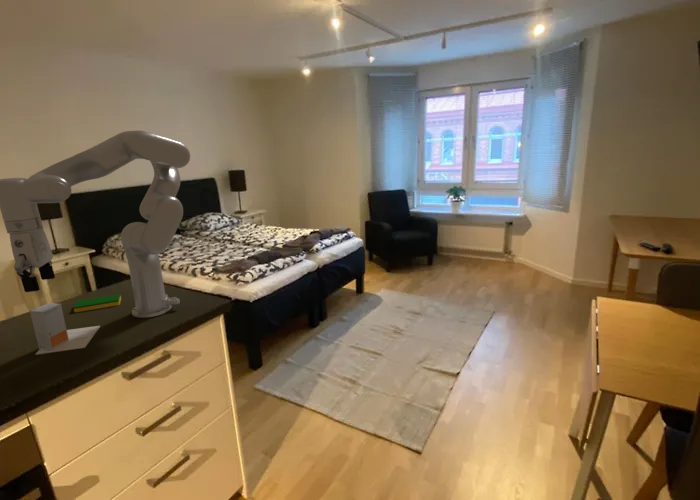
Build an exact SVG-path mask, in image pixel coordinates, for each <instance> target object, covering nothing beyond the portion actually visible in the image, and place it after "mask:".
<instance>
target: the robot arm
mask: <svg viewBox="0 0 700 500" xmlns="http://www.w3.org/2000/svg"><path fill="white" fill-rule="evenodd" d="M137 159H138V160H140V159H141V160H146V161H150V164H151V166H152V168H153V172H154V173H153V174H154V175H153V179H152V182H151V184H150V186H149V187H148V189H147V192H146V193H145V195H144V197H143V199H142V201H141V203H140V205H139V213H140V216H141V217H142V218H143V219H145V220H147V222H141V221H135V222H134V221H133V222H130V223H129V224H127V225H125V227H123V229H122V231H121V235H120V240H121V245H122V248H123V250H124V252H125V253H124V254H125V256H126V259H127V264H128V269H129V270H128V271H129V276H130V281H131V286H132V291H133V297H134V304H135V307H133V308H132V310H131V315H132V316H133V317H135V318H141V319H146V318H147V319H149V318H153V317H158V316H160V315H164V314H166V313H168V312H169V311H171V310H172V308H173V305H180V298H179V297H178V298H177V296H174V297H170V296H168V293H166V291H165V286H164V280H163V279H164V278H163V273H162V265H161V264H162V263H161V260H160V259H161V258H160V256H159V255H160V254H161V253H164V251H166V250H167V249H168V247H169V246H170V244H171V242H172V241H173V238H174V237H175V233H176V232H177V230H178V228H179V226H180V224H181V222H182V220H183V216H184V206H183V204H182V203H181V201H180V200H179V199H178V198H177V195H178V192H179V190H180V186H181V176H180V172H179V169H180V168H184V167H185V166H187V165H188V164H189V163H190V160H191V153H190V150H189V149H188V147H187V146H186V145H185V144H184V143H182V142H180V141H177V140H174V139H171V138H168V137H165V136H164V137H163V136H161V135H159V134H158V135H157V134H155V133H151V132H148V131H145V130H126V131H122V132H119V133H118V134H115V135H114V136H111V137H109V138H107V139H106V140H103V141H102V142H100V143H98V144H96V145H94V146H92V147H89V148H88V149H85V150H83V151H81V152H78V153H76V154H75V155H72V156H70V157H68V158H65V159H63V160H61V161H58V162H56V163H54V164H52V165H49V166H48V167H46V168H43V169H41V170H39V171H38V172H35V173H34V174H32V175H31V176H29V177H28V178H25V177H9V178H8V177H7V178H0V213H1V217H2V220H3V223H4V227H5V230H6V234H9V240H10V247H11V251H12V255H13V259H14V262H15V263H14V266H13V269H14V270H15V271H16V274H17V275H18V277H19V279H20V280H21V281H20V282H21V283H22V287H23V290H24V292H25V293H31V292H39V291H40V289H41V288H40V284H39V282H38V279H37V276H36V275H35V270H36V269H38V272H39V275H40V276H39V277H40V279H41V280H43V281H45V280H53V279H55V277H56V275H55V272H54V268H53V262H52V260H53V258H54V255H53V251H52V249H51V245H50V242H49V240H48V237H47V235H46V232H45V230H44V226H43V222H42V217H41V215H40V211H39V206H38V204H56V203H57V204H58V203H61V202H64V201H66V200H68V199H69V198H70V196H71V194H72V187H73V186H75V185H79V184H80V183H83V182H87V181H92V180H96V179H100V178H103V177H106V176H109V175H110V174H112V173H114V172H115V171H117V170H119V169H120V168H122V167H124V166H126V165H127V164H129V163H131V162H133V161H135V160H137Z"/></svg>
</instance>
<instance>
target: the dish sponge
mask: <svg viewBox="0 0 700 500" xmlns="http://www.w3.org/2000/svg"><path fill="white" fill-rule="evenodd" d="M121 301H122V296H121V293H116V294H111V295H110V294H109V295H105V296H97V297H92V298H85V299H80V300H76V302H75V304H74V306H73V311H74V313H80V312H87V311H92V310H98V309H105V308H110V307H115V306H116V307H117V306H120V305H121Z"/></svg>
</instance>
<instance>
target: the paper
mask: <svg viewBox="0 0 700 500" xmlns="http://www.w3.org/2000/svg"><path fill="white" fill-rule="evenodd" d="M100 328H101V325H96V326H95V325H94V326H87V327H80V328H72V329H67V334H68V338H69V341H67V342H65V343H63V344H61V345H59V346H57V347H55V348H54V349H52V350H44V349H38V350H37V352H36V353H35V356H36V355H37V356H38V355H45V354H51V353H57V352H65V351H70V350H71V351H72V350H77V349H80V350H81V349H85V348H86V347H87V346H88V345H89V343H90V341H91V340H92V338H93V337H94V336H95V335H96V333H97V332H98V330H99V329H100Z"/></svg>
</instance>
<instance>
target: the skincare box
mask: <svg viewBox="0 0 700 500" xmlns="http://www.w3.org/2000/svg"><path fill="white" fill-rule="evenodd" d="M29 313H30V318H31V322H32V325H33V330H34V335H35V338H36V342H37V345H38V350H40V349H44V350H52V349H54V348H55V347H57V346H59V345H61V344H63V343H65V342H67V341H69V338H68V334H67V330H68V329H67V326H66V320H65V317H64V312H63V308H62V303H54V302H53V303H52V302H48V303H46V304H43V305H41V306H38V307H37V308H35V309H32V310H30V311H29Z"/></svg>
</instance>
